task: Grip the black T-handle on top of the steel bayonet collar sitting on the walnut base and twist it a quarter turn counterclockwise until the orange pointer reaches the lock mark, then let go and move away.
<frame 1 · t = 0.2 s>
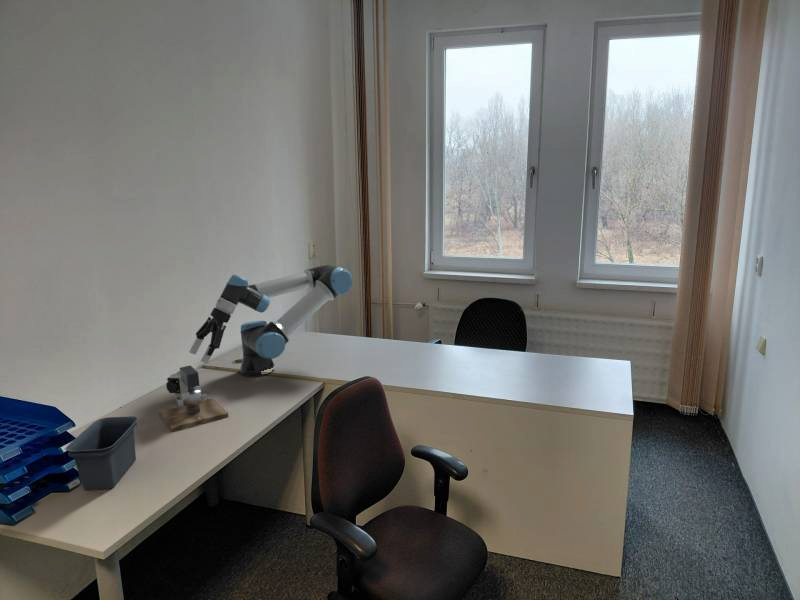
hand: (197, 357, 223), 16 cm above the table, tool tilted 35°, fingers open, 13 cm apart
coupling: (190, 386, 205), point 12 cm above the table, hinge at 0.0°
pneumatic valve: (181, 400, 223), on the table
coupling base: (194, 415, 208), on the table
storage bin: (107, 476, 167), on the table
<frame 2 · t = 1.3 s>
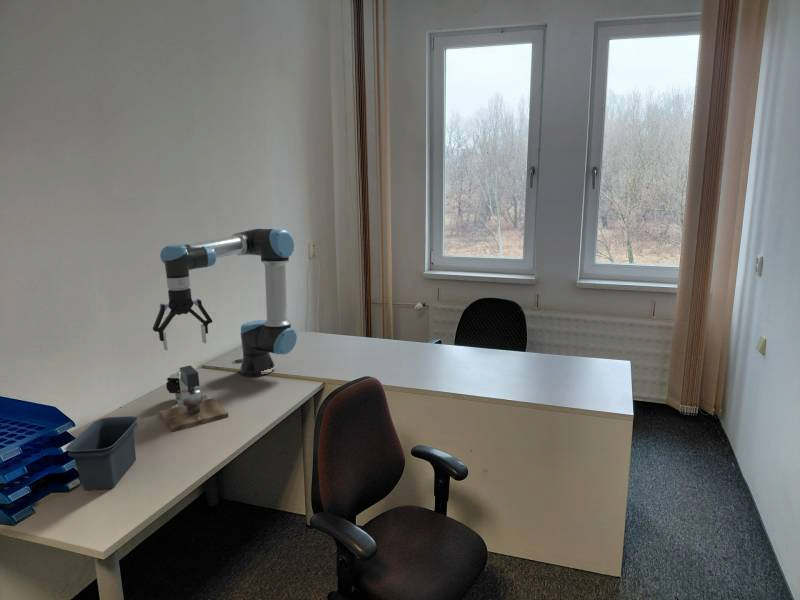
hand: (185, 345, 202), 27 cm above the table, tool pointing down, fingers open, 13 cm apart
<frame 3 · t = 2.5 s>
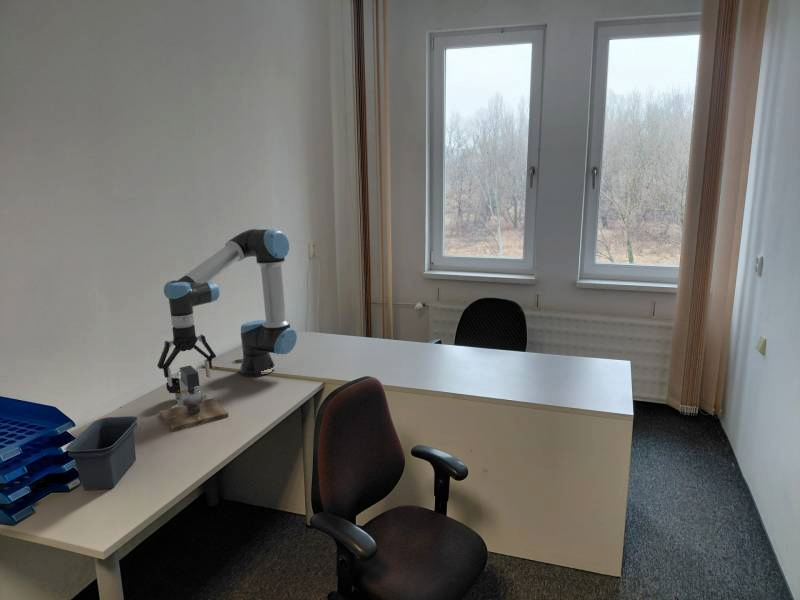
hand: (189, 381, 205), 14 cm above the table, tool pointing down, fingers open, 13 cm apart
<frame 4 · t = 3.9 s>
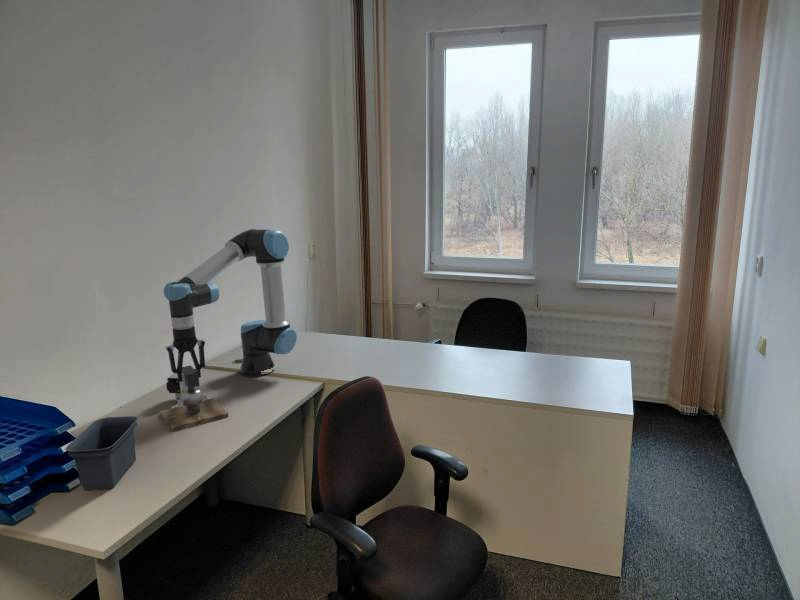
hand: (190, 387, 205), 11 cm above the table, tool pointing down, fingers closed on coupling, 4 cm apart
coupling: (190, 386, 205), point 12 cm above the table, hinge at 0.0°, touching gripper
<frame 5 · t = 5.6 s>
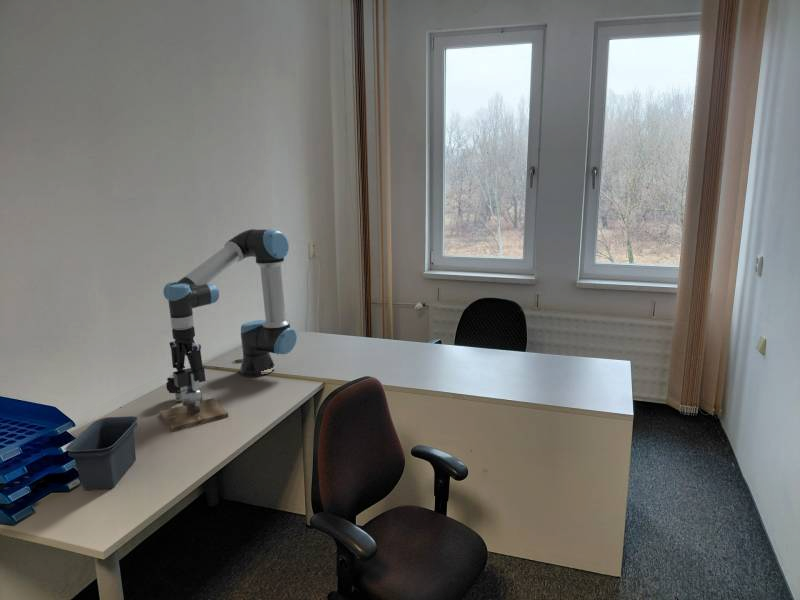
hand: (190, 387, 205), 11 cm above the table, tool pointing down, fingers closed on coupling, 5 cm apart
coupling: (190, 386, 205), point 12 cm above the table, hinge at 96.3°, touching gripper
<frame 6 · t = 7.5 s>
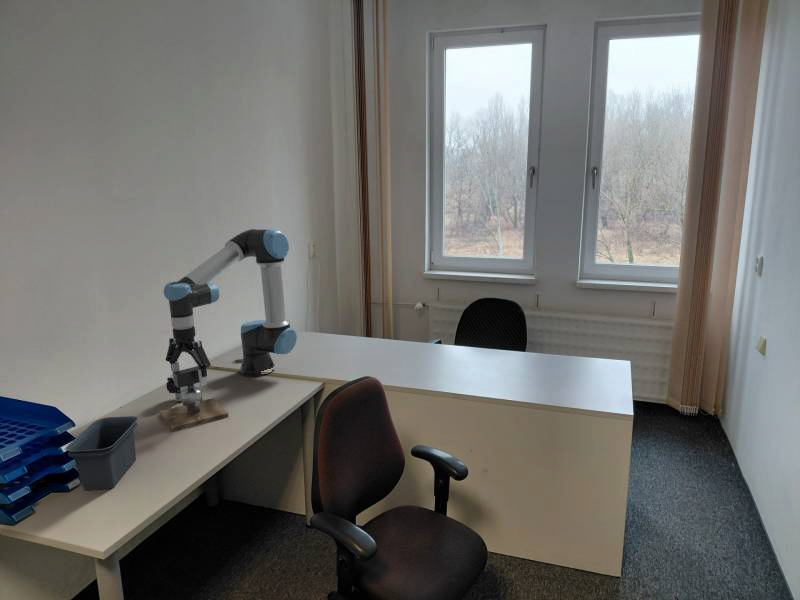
hand: (190, 382, 205), 13 cm above the table, tool pointing down, fingers open, 13 cm apart
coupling: (190, 386, 205), point 12 cm above the table, hinge at 96.2°
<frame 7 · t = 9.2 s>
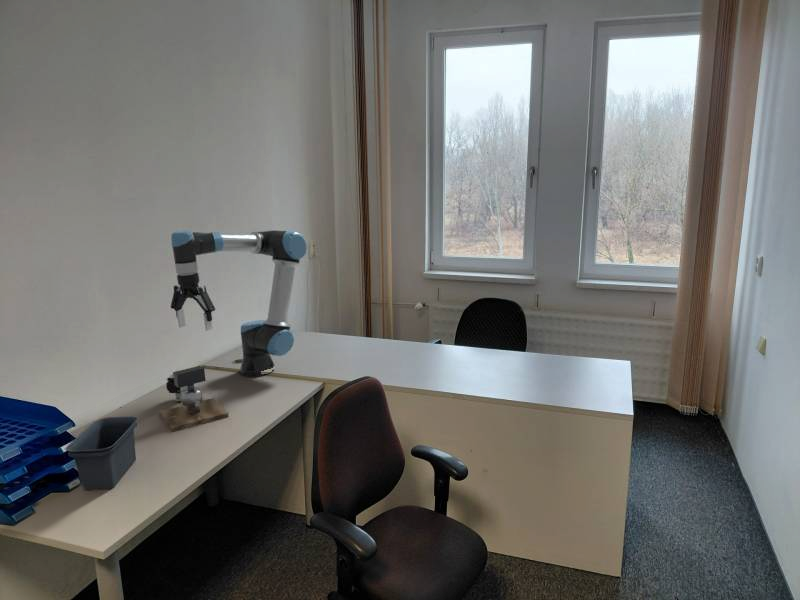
hand: (195, 328, 211), 31 cm above the table, tool pointing down, fingers open, 13 cm apart
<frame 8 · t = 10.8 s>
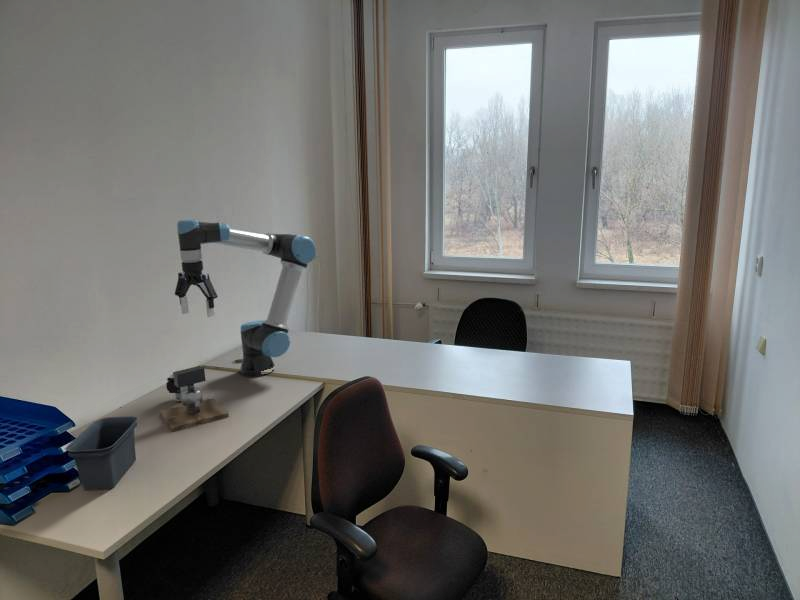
hand: (198, 314, 216), 35 cm above the table, tool pointing down, fingers open, 13 cm apart
at the end: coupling at +96° (first picture: +0°); the gripper is holding nothing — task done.
